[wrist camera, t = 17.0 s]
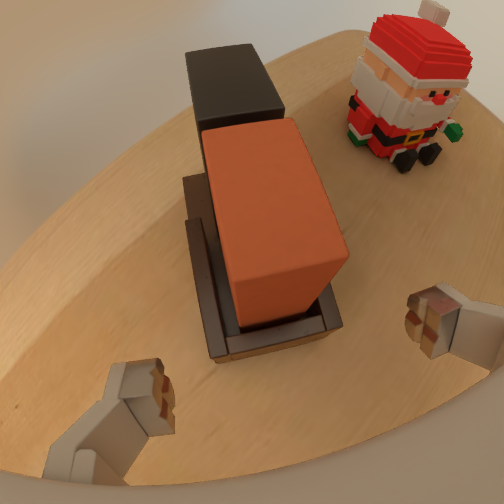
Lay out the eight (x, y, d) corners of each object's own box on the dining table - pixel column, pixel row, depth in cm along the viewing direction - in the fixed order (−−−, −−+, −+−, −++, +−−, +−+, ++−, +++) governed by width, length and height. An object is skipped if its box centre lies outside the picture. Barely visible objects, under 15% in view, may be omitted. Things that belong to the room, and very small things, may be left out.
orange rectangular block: (240, 335, 15) (231, 282, 7) (221, 247, 17) (200, 130, 9) (297, 322, 16) (351, 255, 7) (273, 236, 18) (293, 116, 9)
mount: (217, 364, 16) (173, 343, 6) (184, 185, 20) (150, 59, 11) (324, 338, 16) (412, 283, 7) (271, 169, 21) (283, 40, 12)
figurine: (378, 181, 21) (448, 43, 10) (330, 116, 23) (362, -14, 12) (447, 159, 22) (513, 57, 11) (401, 105, 24) (443, 3, 13)
